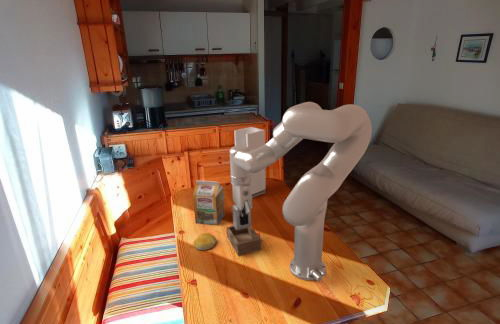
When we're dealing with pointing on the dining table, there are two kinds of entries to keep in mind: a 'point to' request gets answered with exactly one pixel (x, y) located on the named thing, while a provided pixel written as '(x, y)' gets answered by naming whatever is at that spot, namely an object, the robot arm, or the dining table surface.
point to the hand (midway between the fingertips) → (242, 221)
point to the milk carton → (208, 203)
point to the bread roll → (204, 241)
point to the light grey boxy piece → (253, 141)
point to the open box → (244, 240)
